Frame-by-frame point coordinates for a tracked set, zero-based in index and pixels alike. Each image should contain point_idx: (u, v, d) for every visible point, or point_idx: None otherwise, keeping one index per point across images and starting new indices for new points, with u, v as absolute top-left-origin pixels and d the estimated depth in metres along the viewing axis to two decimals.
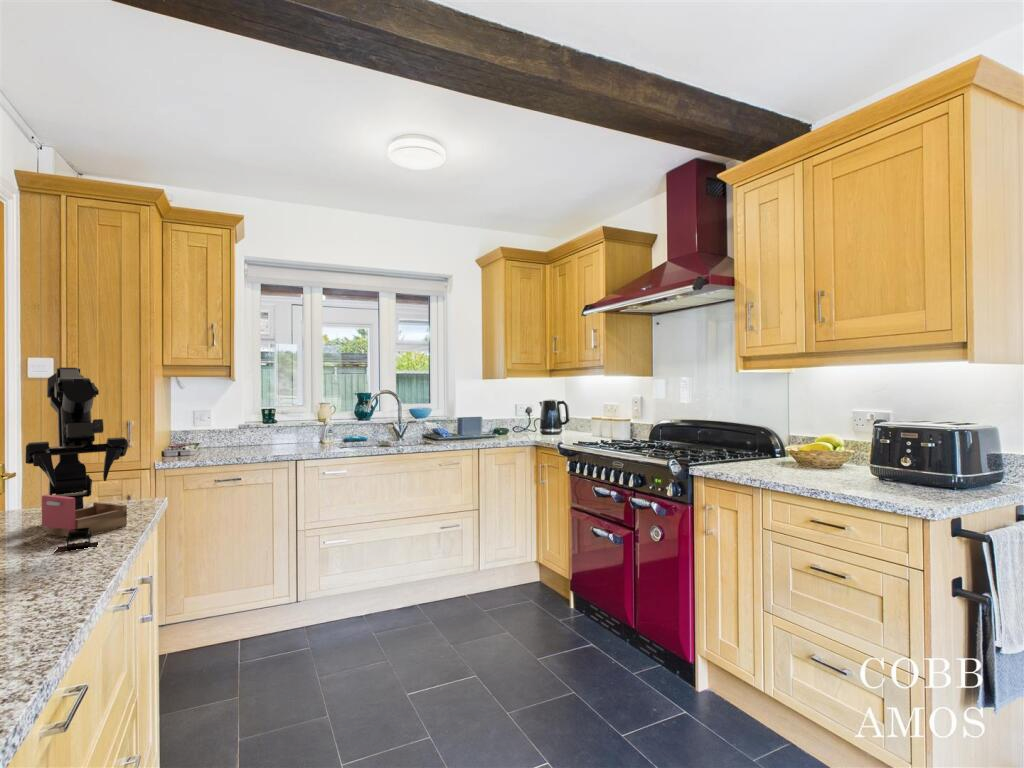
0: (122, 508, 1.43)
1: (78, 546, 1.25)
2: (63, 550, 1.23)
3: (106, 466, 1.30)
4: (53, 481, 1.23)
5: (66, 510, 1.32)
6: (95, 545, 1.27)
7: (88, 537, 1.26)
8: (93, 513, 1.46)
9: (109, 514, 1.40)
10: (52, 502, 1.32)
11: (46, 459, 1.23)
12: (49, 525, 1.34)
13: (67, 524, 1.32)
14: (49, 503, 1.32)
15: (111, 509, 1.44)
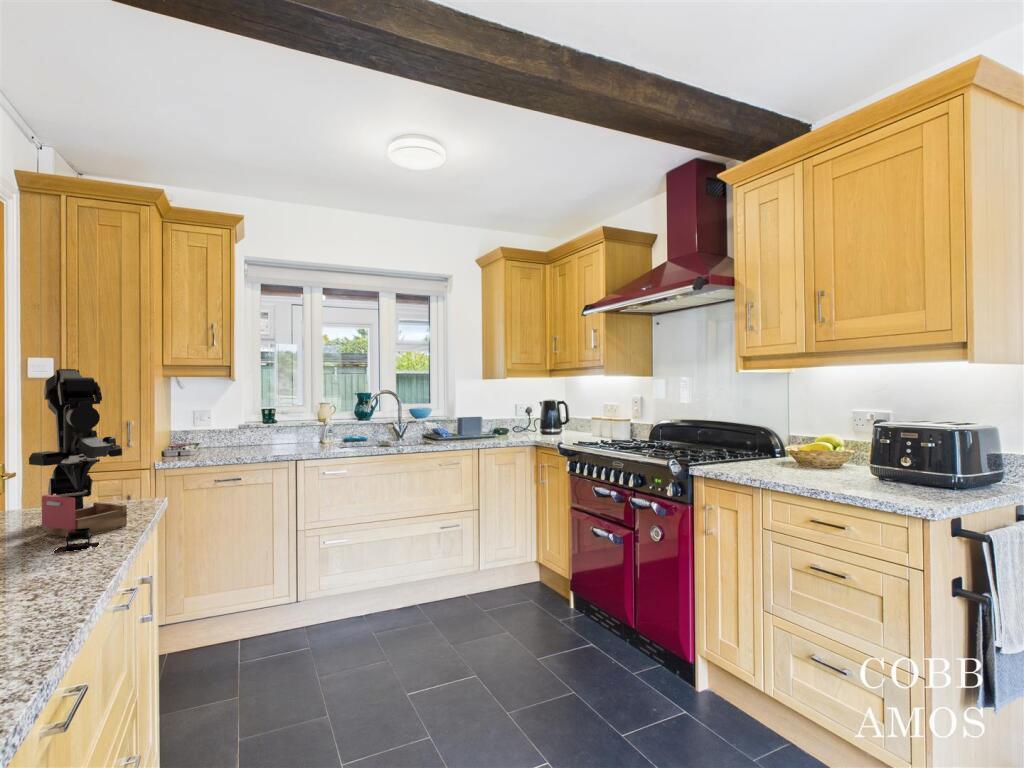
0: (122, 508, 1.43)
1: (78, 546, 1.25)
2: (62, 550, 1.23)
3: (83, 476, 1.38)
4: (78, 486, 1.37)
5: (66, 510, 1.32)
6: (95, 546, 1.26)
7: (87, 538, 1.26)
8: (93, 513, 1.46)
9: (109, 514, 1.40)
10: (52, 502, 1.32)
11: (77, 467, 1.36)
12: (49, 525, 1.34)
13: (67, 524, 1.32)
14: (49, 503, 1.32)
15: (111, 509, 1.44)
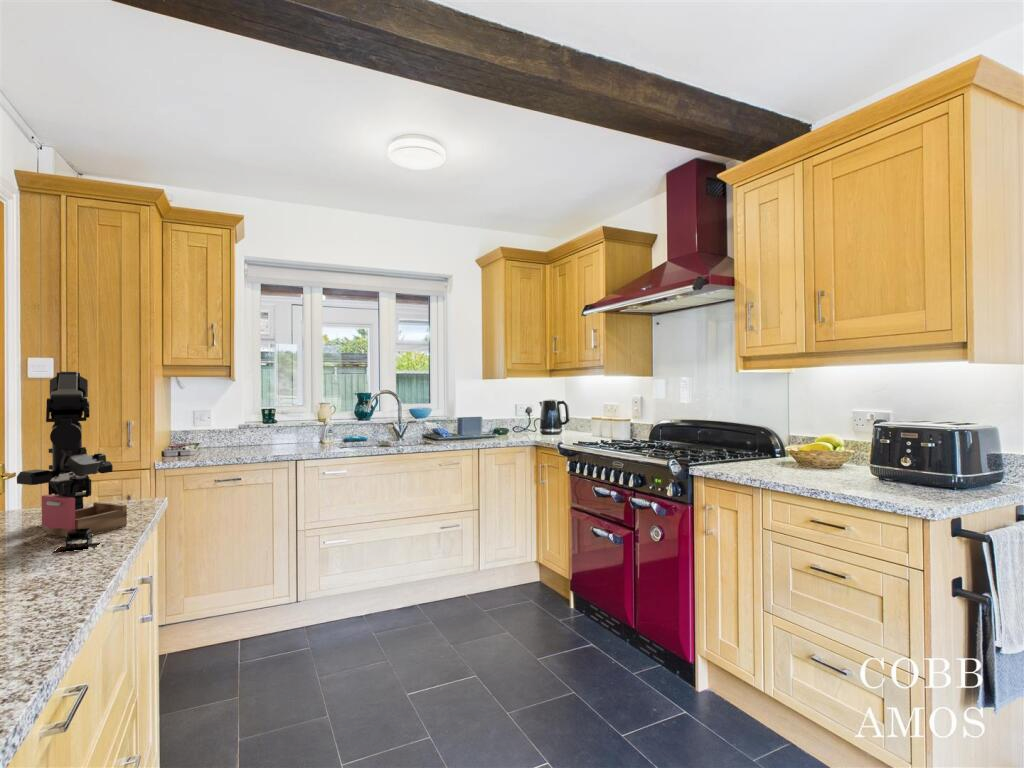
0: (122, 508, 1.43)
1: (77, 547, 1.25)
2: (61, 550, 1.23)
3: (72, 494, 1.35)
4: None
5: (66, 510, 1.32)
6: (93, 546, 1.26)
7: (86, 538, 1.25)
8: (93, 513, 1.46)
9: (109, 514, 1.40)
10: (52, 502, 1.32)
11: (67, 485, 1.33)
12: (49, 525, 1.34)
13: (67, 524, 1.32)
14: (49, 503, 1.32)
15: (111, 509, 1.44)
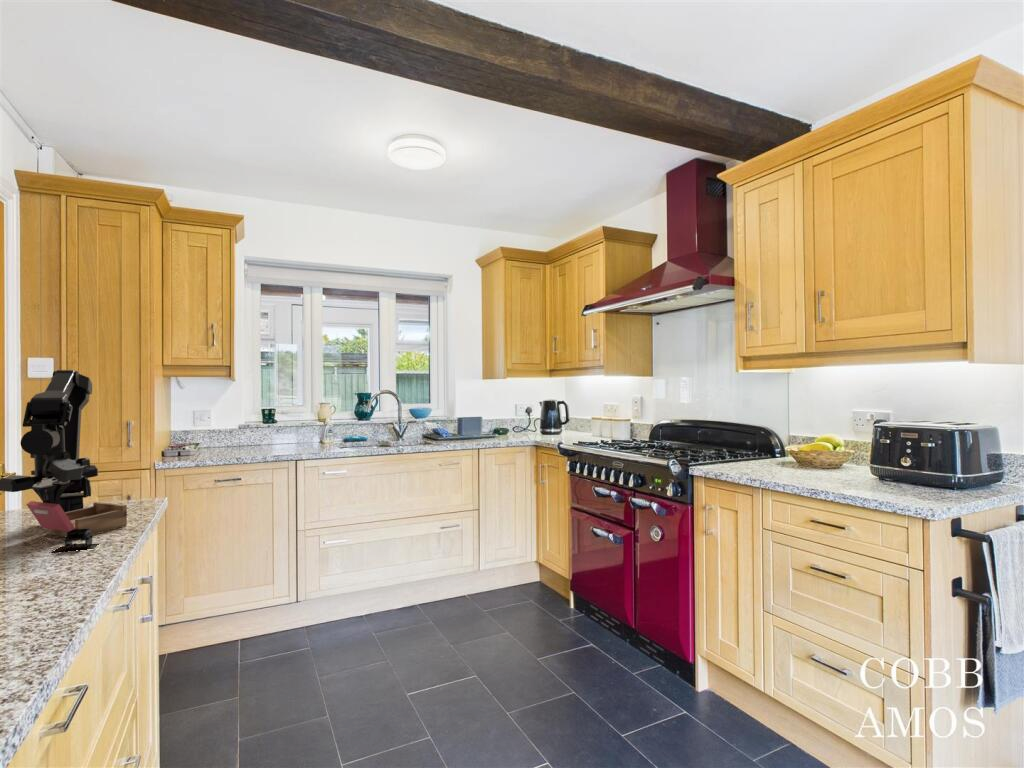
0: (122, 508, 1.43)
1: (76, 547, 1.24)
2: (60, 550, 1.23)
3: (56, 499, 1.32)
4: None
5: (57, 516, 1.30)
6: (92, 547, 1.25)
7: (85, 539, 1.25)
8: (93, 513, 1.46)
9: (109, 514, 1.40)
10: (39, 511, 1.30)
11: (50, 490, 1.30)
12: (49, 527, 1.34)
13: (65, 527, 1.31)
14: (37, 512, 1.30)
15: (111, 509, 1.44)
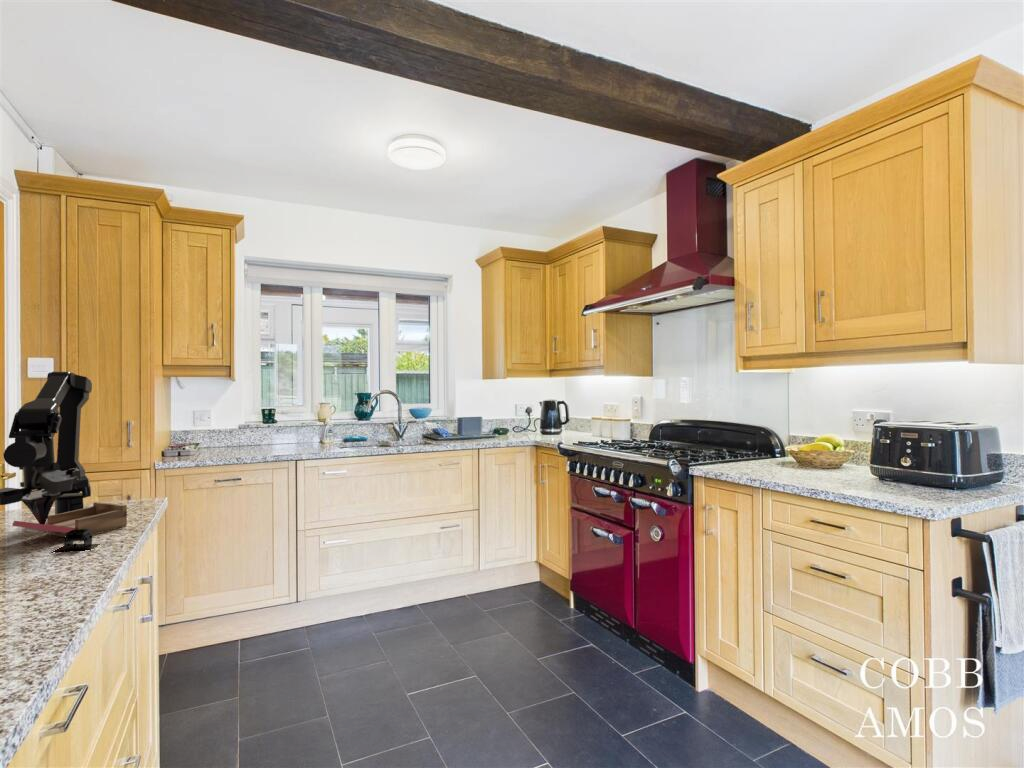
0: (122, 508, 1.43)
1: (75, 548, 1.24)
2: (60, 550, 1.23)
3: (46, 511, 1.30)
4: (43, 521, 1.30)
5: (50, 530, 1.28)
6: (90, 548, 1.25)
7: (83, 539, 1.24)
8: (93, 513, 1.46)
9: (109, 514, 1.40)
10: (30, 530, 1.28)
11: (40, 502, 1.28)
12: None
13: (65, 532, 1.31)
14: (28, 531, 1.28)
15: (111, 509, 1.44)
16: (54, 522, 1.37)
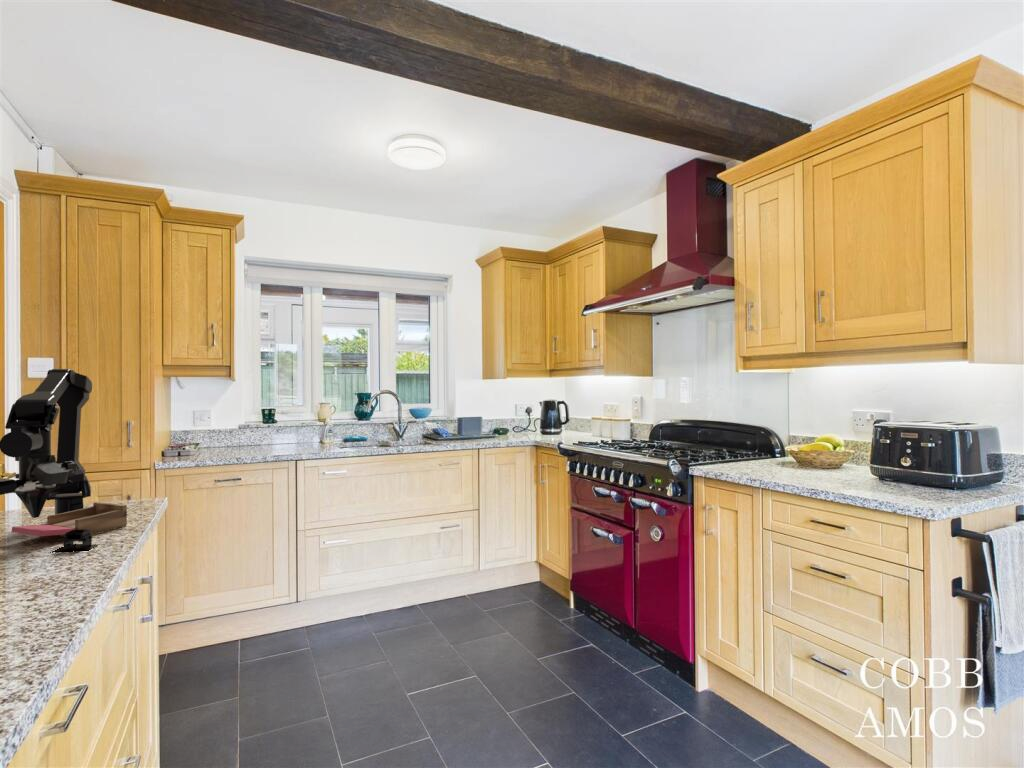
0: (122, 508, 1.43)
1: (74, 548, 1.24)
2: (59, 551, 1.23)
3: (41, 504, 1.29)
4: (35, 515, 1.28)
5: (50, 534, 1.28)
6: (89, 548, 1.24)
7: (82, 540, 1.24)
8: (93, 513, 1.46)
9: (109, 514, 1.40)
10: (30, 536, 1.28)
11: (33, 495, 1.27)
12: None
13: None
14: None
15: (111, 509, 1.44)
16: (54, 522, 1.37)
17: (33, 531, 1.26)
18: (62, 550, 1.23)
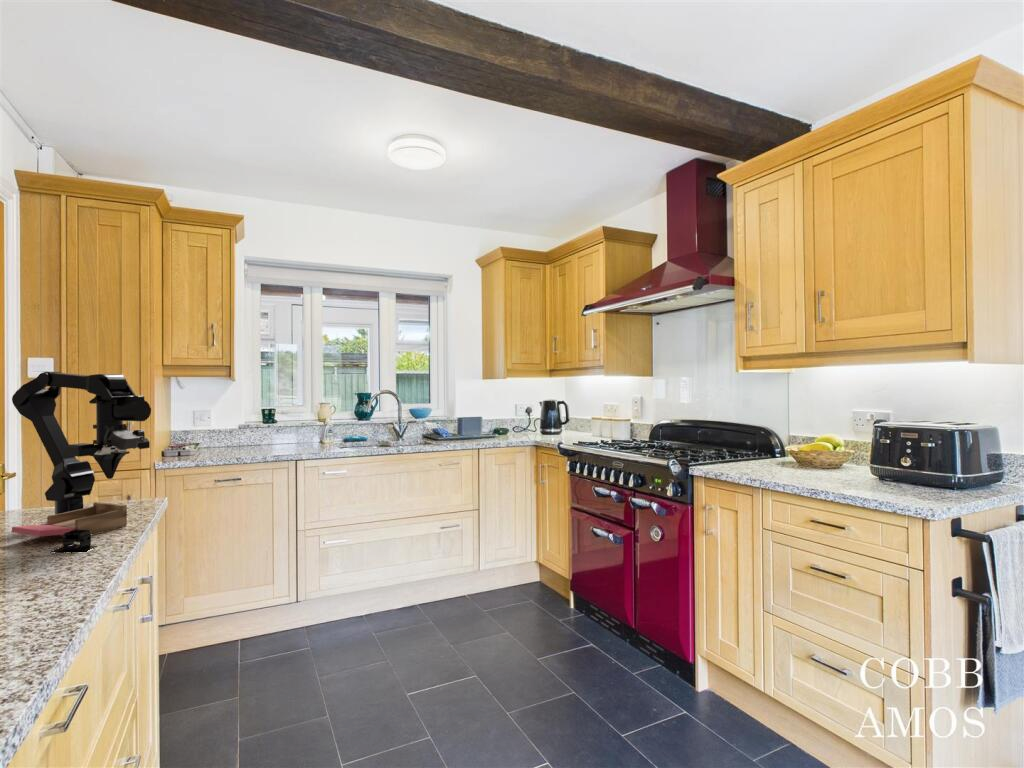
0: (122, 508, 1.43)
1: (72, 548, 1.24)
2: (58, 550, 1.23)
3: (114, 467, 1.47)
4: (110, 476, 1.46)
5: (50, 534, 1.28)
6: (86, 549, 1.24)
7: (80, 540, 1.23)
8: (93, 513, 1.46)
9: (109, 514, 1.40)
10: (30, 536, 1.28)
11: (109, 458, 1.44)
12: None
13: None
14: (28, 536, 1.28)
15: (111, 509, 1.44)
16: (54, 522, 1.37)
17: (33, 531, 1.26)
18: (61, 550, 1.23)
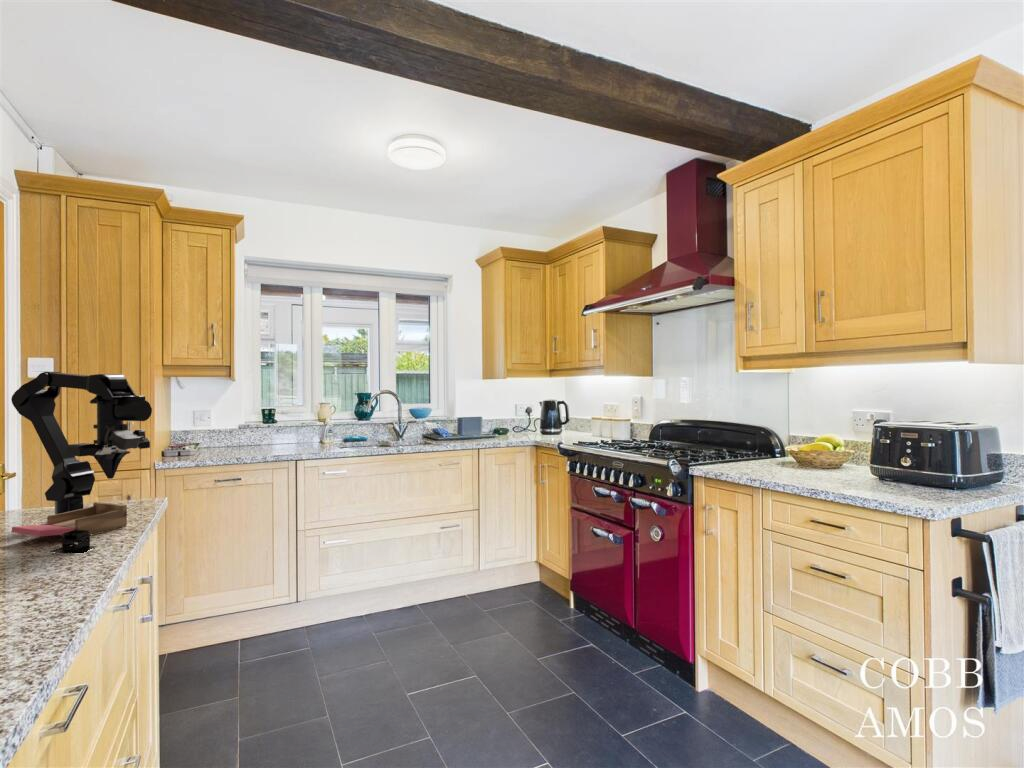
0: (122, 508, 1.43)
1: (70, 549, 1.23)
2: (57, 550, 1.23)
3: (115, 466, 1.47)
4: (110, 476, 1.46)
5: (50, 534, 1.28)
6: (83, 550, 1.23)
7: (77, 541, 1.23)
8: (93, 513, 1.46)
9: (109, 514, 1.40)
10: (30, 536, 1.28)
11: (109, 458, 1.45)
12: None
13: None
14: (28, 536, 1.28)
15: (111, 509, 1.44)
16: (54, 522, 1.37)
17: (33, 531, 1.26)
18: (60, 550, 1.23)
